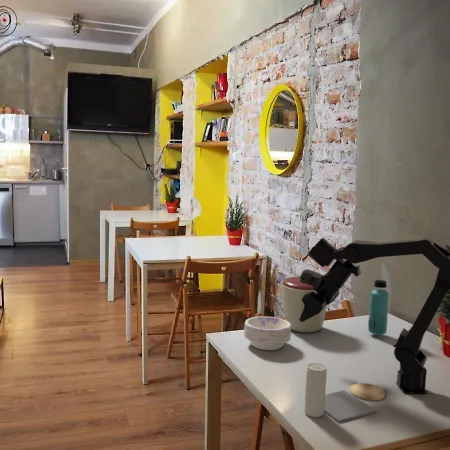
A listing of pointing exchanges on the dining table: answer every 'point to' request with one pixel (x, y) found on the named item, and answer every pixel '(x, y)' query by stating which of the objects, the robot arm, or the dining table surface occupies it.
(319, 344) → the dining table surface
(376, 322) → the beverage bottle
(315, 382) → the beverage can
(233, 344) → the dining table surface
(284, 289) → the canister
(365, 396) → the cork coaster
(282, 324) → the paper bowls
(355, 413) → the slate coaster
